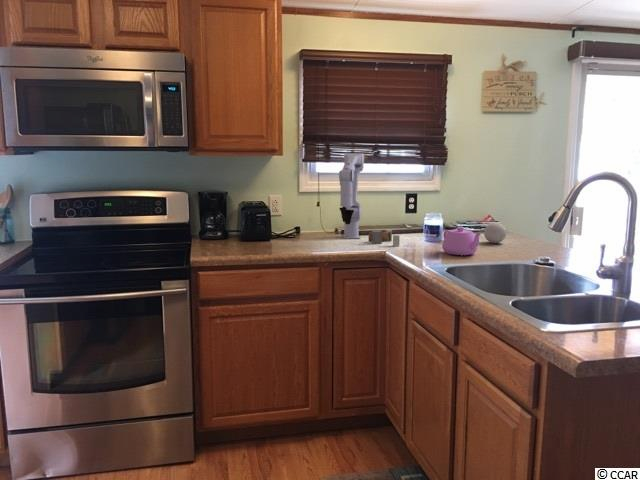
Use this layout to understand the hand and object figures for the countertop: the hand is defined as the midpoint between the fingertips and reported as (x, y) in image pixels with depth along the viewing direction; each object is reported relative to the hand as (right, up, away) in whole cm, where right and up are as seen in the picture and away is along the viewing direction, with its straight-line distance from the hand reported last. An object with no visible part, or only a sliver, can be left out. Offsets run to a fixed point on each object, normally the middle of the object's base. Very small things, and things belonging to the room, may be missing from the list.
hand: (346, 223), depth 245 cm
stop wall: (+23, -11, -6) cm, 26 cm away
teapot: (+48, -15, -26) cm, 57 cm away
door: (+17, -9, +6) cm, 20 cm away
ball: (+71, -10, -2) cm, 72 cm away
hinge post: (+22, -8, +8) cm, 24 cm away
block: (+15, -10, +1) cm, 18 cm away
